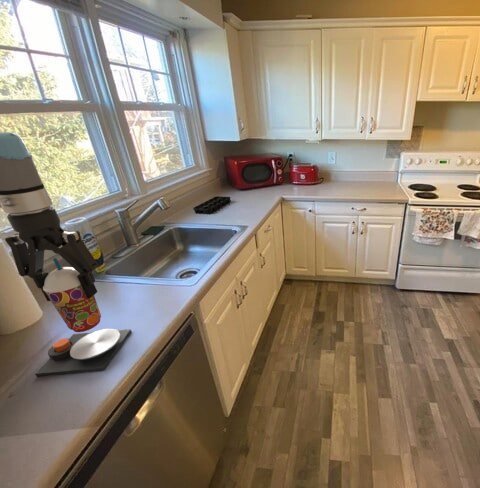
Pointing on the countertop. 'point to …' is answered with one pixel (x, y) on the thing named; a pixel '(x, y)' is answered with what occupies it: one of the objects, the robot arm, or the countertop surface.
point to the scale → (68, 365)
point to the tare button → (61, 345)
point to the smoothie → (71, 299)
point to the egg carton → (211, 205)
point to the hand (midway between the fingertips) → (73, 296)
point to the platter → (94, 344)
